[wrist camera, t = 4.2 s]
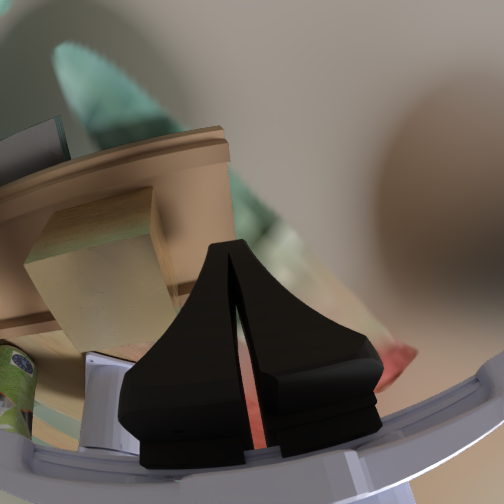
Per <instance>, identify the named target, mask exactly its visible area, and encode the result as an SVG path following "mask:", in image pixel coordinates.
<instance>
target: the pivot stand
mask: <svg viewBox="0 0 504 504" xmlns="http://www.w3.org/2000/svg"><path fill="white" fill-rule="evenodd" d="M70 160H71V157H70V153H69V150H68V146H67V142H66V137H65V133H64V129H63V124H62V120H61V116H60V115H59V116H57V117H54V118H51V119H49V120H46V121H44V122H41V123H39V124H36V125H34V126H31V127H29V128H27V129H24V130H22V131H20V132H18V133H16V134H13V135H11V136H9V137H7V138H5V139H3V140H1V141H0V187H1V186H4V185H6V184H8V183H11V182H13V181H15V180H18V179H20V178H23V177H25V176H28V175H30V174H33V173H36V172H38V171H41V170H44V169H46V168H49V167H52V166H55V165H58V164H61V163H64V162H67V161H70Z"/></svg>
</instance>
